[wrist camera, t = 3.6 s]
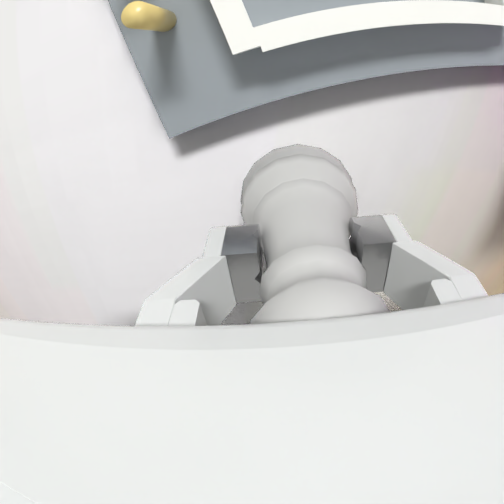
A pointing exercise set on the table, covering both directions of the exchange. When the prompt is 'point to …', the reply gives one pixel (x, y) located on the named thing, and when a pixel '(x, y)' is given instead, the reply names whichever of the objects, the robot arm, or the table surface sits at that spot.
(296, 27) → the board
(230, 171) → the table surface
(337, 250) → the rook chess piece
